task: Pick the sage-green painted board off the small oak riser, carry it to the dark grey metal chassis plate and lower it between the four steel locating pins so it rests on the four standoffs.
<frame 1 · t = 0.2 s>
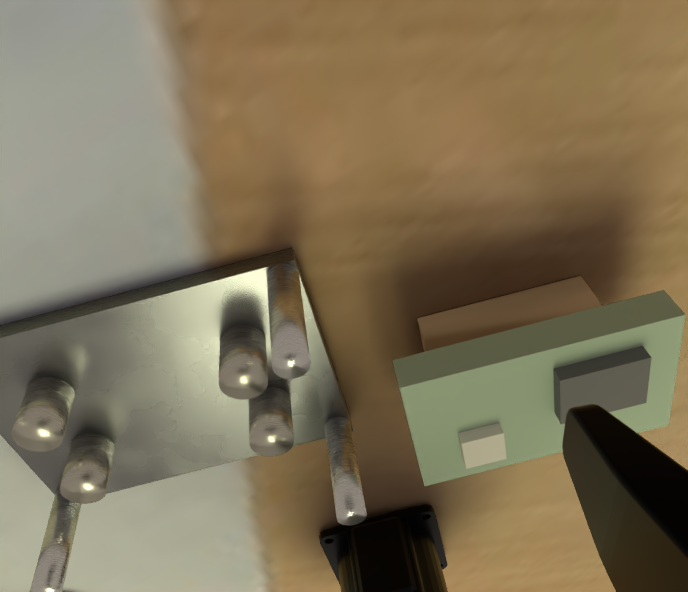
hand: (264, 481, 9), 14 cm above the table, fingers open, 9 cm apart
chassis: (166, 383, 27), on the table
board: (530, 381, 25), point 3 cm above the table, touching riser
riser: (501, 323, 28), on the table
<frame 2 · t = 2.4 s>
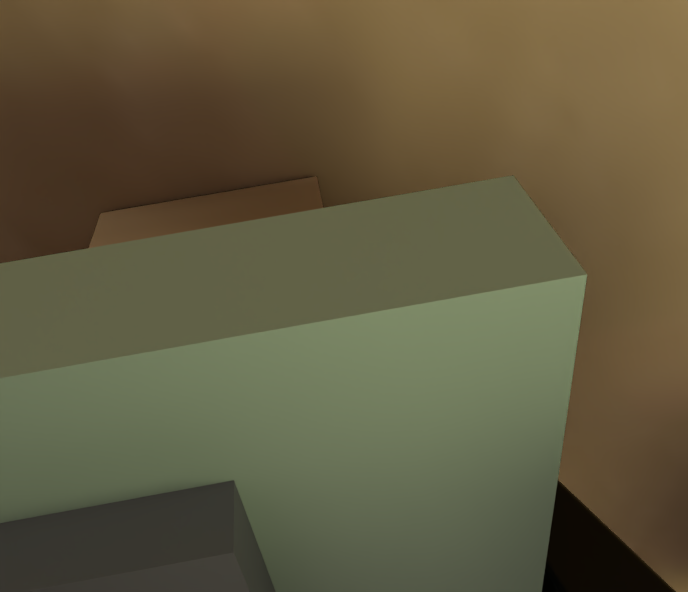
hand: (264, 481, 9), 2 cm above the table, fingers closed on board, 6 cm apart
board: (267, 564, 8), point 3 cm above the table, touching gripper, riser
riser: (260, 374, 11), on the table
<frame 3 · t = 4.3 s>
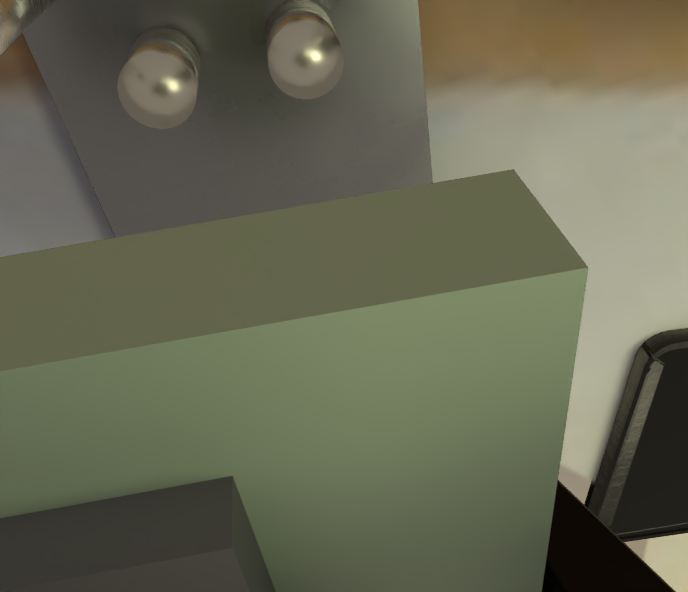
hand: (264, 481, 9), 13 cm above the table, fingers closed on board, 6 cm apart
chassis: (267, 171, 20), on the table
board: (266, 562, 8), point 14 cm above the table, touching gripper
phone: (677, 430, 32), on the table
when the fingers open (3 cm above the table, at t = 6.6 s): board drops 2 cm, resting on chassis.
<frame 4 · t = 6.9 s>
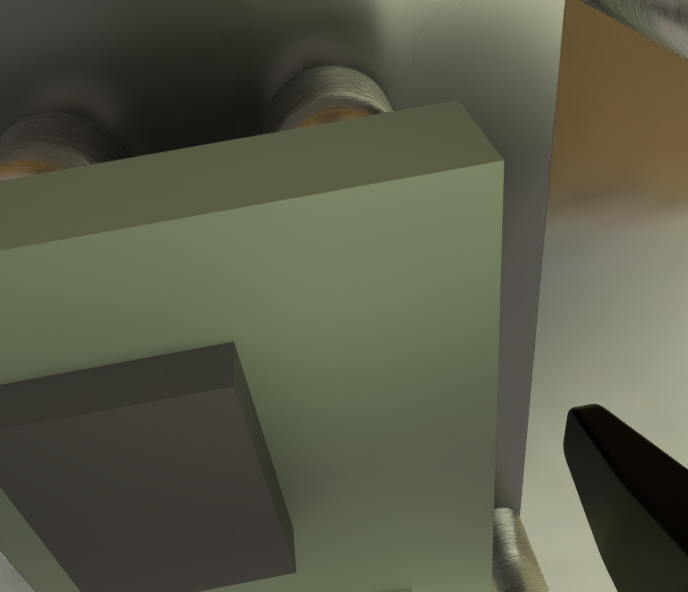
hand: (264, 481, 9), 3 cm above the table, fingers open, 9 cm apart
chassis: (257, 334, 12), on the table
board: (264, 463, 9), point 3 cm above the table, touching chassis
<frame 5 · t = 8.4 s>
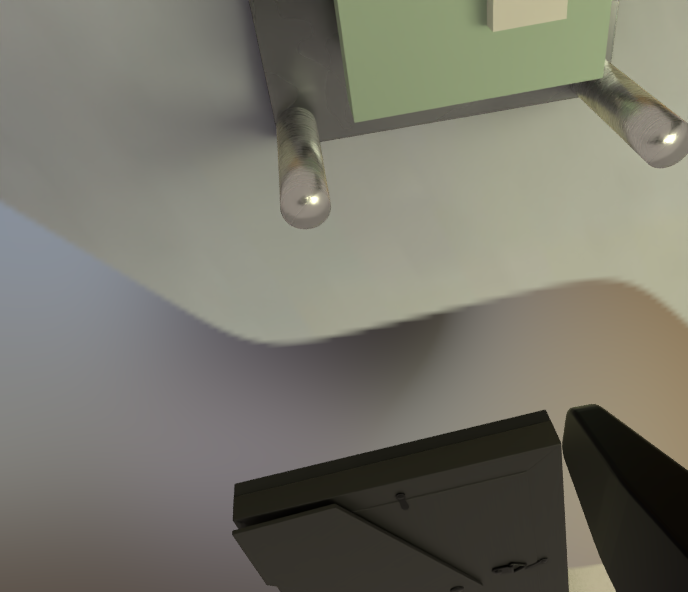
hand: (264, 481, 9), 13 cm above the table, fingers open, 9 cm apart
picture frame: (421, 548, 38), on the table
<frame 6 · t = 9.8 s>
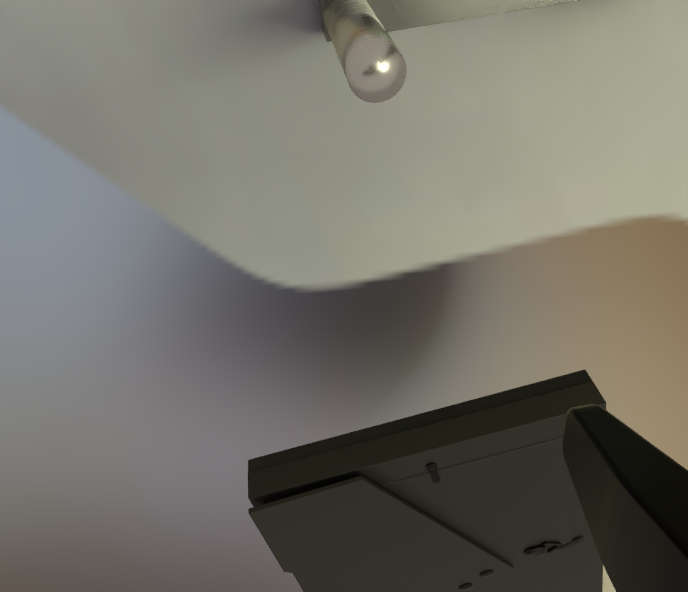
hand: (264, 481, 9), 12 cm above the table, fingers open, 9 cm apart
picture frame: (445, 531, 35), on the table
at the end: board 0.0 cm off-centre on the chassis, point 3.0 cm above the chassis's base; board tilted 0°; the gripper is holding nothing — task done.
